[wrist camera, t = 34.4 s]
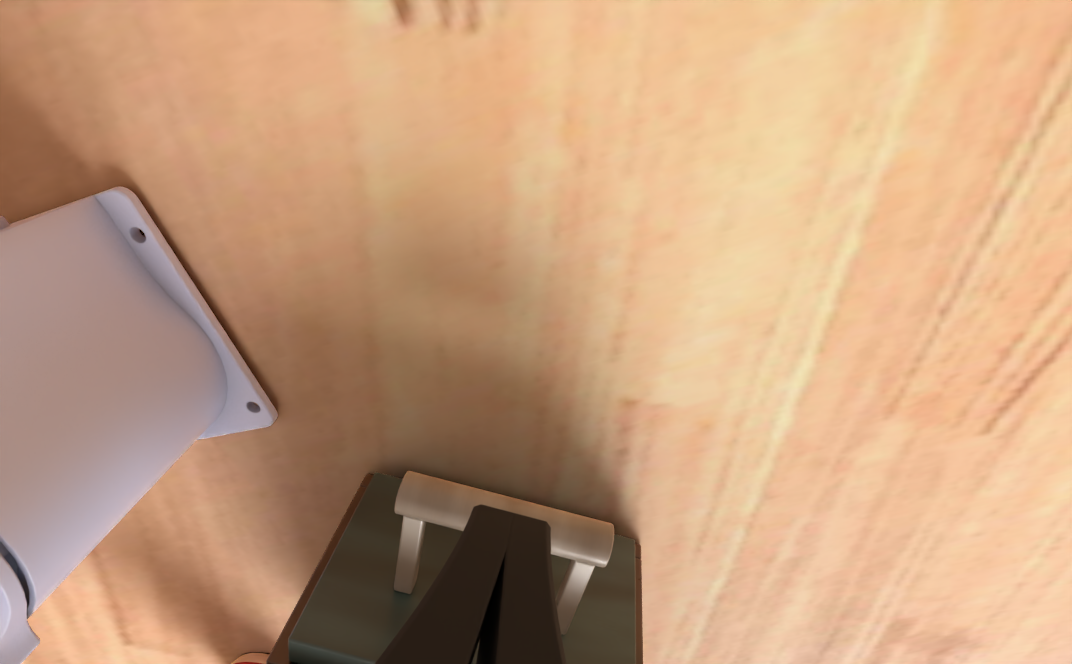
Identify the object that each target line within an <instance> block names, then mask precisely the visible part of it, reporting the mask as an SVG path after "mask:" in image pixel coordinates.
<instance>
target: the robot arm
mask: <svg viewBox="0 0 1072 664" xmlns="http://www.w3.org/2000/svg"><path fill="white" fill-rule="evenodd" d="M138 228H139V229H141V230H142V231H143V233H144V234H145V237H144V236H143V235H142V234H141V233H140V231H139V229H138ZM254 402H255V403H257V404H258V405H259V406H258V405H256V404H255V403H254ZM277 418H278V413H277V411H276V409H275V407H274V406H273V404H272V403H271V401H270V400H269V398H268V397H267V395H266V394H265V392H264V391H263V389H262V387H261V386H260V384H259V383H258V381H257V380H256V378H255V377H254V375H253V374H252V372H251V371H250V369H249V367H248V366H247V364H246V363H245V361H244V360H243V358H242V357H241V355H240V354H239V352H238V351H237V349H236V347H235V346H234V344H233V343H232V341H231V340H230V338H229V337H228V335H227V334H226V332H225V331H224V329H223V328H222V326H221V324H220V323H219V321H218V320H217V318H216V317H215V315H214V314H213V312H212V311H211V309H210V308H209V306H208V304H207V303H206V301H205V300H204V298H203V297H202V295H201V294H200V292H199V291H198V289H197V288H196V286H195V285H194V283H193V281H192V280H191V278H190V277H189V275H188V274H187V272H186V271H185V269H184V268H183V266H182V265H181V263H180V261H179V260H178V258H177V257H176V255H175V254H174V252H173V251H172V249H171V248H170V246H169V245H168V243H167V242H166V240H165V238H164V237H163V235H162V234H161V232H160V231H159V229H158V228H157V226H156V225H155V223H154V222H153V220H152V218H151V217H150V215H149V214H148V212H147V211H146V209H145V208H144V206H143V205H142V203H141V202H140V200H139V198H138V197H137V196H136V195H135V194H134V193H133V192H132V191H131V190H129V189H128V188H125V187H122V186H120V187H114V188H111V189H109V190H106V191H103V192H100V193H97V194H94V195H91V196H88V197H86V198H83V199H80V200H77V201H74V202H71V203H68V204H66V205H63V206H60V207H57V208H54V209H51V210H48V211H46V212H43V213H40V214H37V215H34V216H31V217H28V218H26V219H23V220H20V221H17V222H14V223H11V224H9V223H8V221H7V220H6V219H5V217H4V216H0V664H22V662H23V661H24V660H25V659H26V658H27V657H28V656H29V655H30V653H31V652H32V651H33V650H34V649H35V648H36V647H37V646H38V644H39V643H40V639H39V638H38V636H37V635H36V634H35V633H34V632H33V631H32V629H31V627H30V626H29V624H28V621H27V619H28V618H29V617H30V616H31V615H32V614H33V613H34V612H35V610H36V609H37V608H38V607H39V606H40V605H41V604H42V603H43V602H44V601H45V600H46V599H47V598H48V597H49V596H50V595H51V594H52V592H53V591H54V590H55V589H56V588H57V587H58V586H59V585H60V584H61V583H62V582H63V581H64V580H65V579H66V578H67V577H68V576H69V574H70V573H71V572H72V571H73V570H74V569H75V568H76V567H77V566H78V565H79V564H80V563H81V562H82V561H83V560H84V559H85V558H86V556H87V555H88V554H89V553H90V552H91V551H92V550H93V549H94V548H95V547H96V546H97V545H98V544H99V543H100V542H101V541H102V540H103V538H104V537H105V536H106V535H107V534H108V533H109V532H110V531H111V530H112V529H113V528H114V527H115V526H116V525H117V524H118V523H119V521H120V520H121V519H122V518H123V517H124V516H125V515H126V514H127V513H128V512H129V511H130V510H131V509H132V508H133V507H134V506H135V505H136V503H137V502H138V501H139V500H140V499H141V498H142V497H143V496H144V495H145V494H146V493H147V492H148V491H149V490H150V489H151V488H152V487H153V485H154V484H155V483H156V482H157V481H158V480H159V479H160V478H161V477H162V476H163V475H164V474H165V473H166V472H167V471H168V470H169V469H170V467H171V466H172V465H173V464H174V463H175V462H176V461H177V460H178V459H179V458H180V457H181V456H182V455H183V454H184V453H185V452H186V451H187V449H188V448H189V447H190V446H191V445H192V444H193V443H194V442H195V441H196V440H200V439H205V438H211V437H216V436H221V435H227V434H232V433H238V432H243V431H249V430H254V429H259V428H265V427H269V426H271V425H272V424H273V423H274V422H275V420H276V419H277ZM479 640H480V641H479ZM478 643H479V647H478V654H477V661H476V664H567V663H566V658H565V653H564V647H563V642H562V636H561V630H560V625H559V619H558V612H557V606H556V598H555V590H554V581H553V572H552V560H551V527H550V525H549V524H548V523H547V521H543V520H539V519H535V518H532V517H528V516H524V515H520V514H516V513H513V512H509V511H505V510H501V509H497V508H493V507H490V506H486V505H482V504H480V505H477V506H474V507H473V510H472V512H471V515H470V517H469V520H468V522H467V524H466V526H465V528H464V530H463V533H462V535H461V536H460V538H459V540H458V542H457V544H456V546H455V548H454V549H453V551H452V553H451V554H450V556H449V558H448V560H447V561H446V563H445V565H444V566H443V568H442V570H441V571H440V573H439V574H438V576H437V577H436V579H435V580H434V582H433V583H432V585H431V586H430V588H429V589H428V591H427V592H426V594H425V595H424V597H423V598H422V600H421V602H420V603H419V605H418V606H417V607H416V609H415V610H414V612H413V613H412V615H411V616H410V617H409V619H408V620H407V621H406V623H405V624H404V625H403V627H402V628H401V629H400V631H399V632H398V633H397V635H396V636H395V637H394V639H393V640H392V641H391V643H390V644H389V645H388V647H387V648H386V649H385V651H384V652H383V653H382V655H381V656H380V657H379V659H378V660H377V661H376V662H375V664H472V661H473V658H474V655H475V652H476V649H477V646H478Z"/></svg>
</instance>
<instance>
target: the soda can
mask: <svg viewBox="0 0 1072 664" xmlns="http://www.w3.org/2000/svg"><path fill="white" fill-rule="evenodd" d="M269 655H270V654H264V653H248V654H244V655H242V656H240V657H238V658H237V659H236V660H235V661H233V662H232V663H230V664H266V661H267V659H268V657H269Z"/></svg>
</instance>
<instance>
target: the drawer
mask: <svg viewBox="0 0 1072 664" xmlns="http://www.w3.org/2000/svg"><path fill="white" fill-rule="evenodd" d="M480 504H482V505H486V506H490V507H493V508H497V509H501V510H505V511H509V512H513V513H516V514H520V515H524V516H528V517H532V518H535V519H539V520H543V521H547V523H548V524H549V525H550V527H551V560H552V572H553V581H554V590H555V598H556V606H557V612H558V619H559V625H560V630H561V636H562V642H563V647H564V653H565V658H566V663H567V664H636V571H635V540H634V539H632V538H628V537H624V536H620V535H616V534H614V525H613V524H612V523H608V522H605V521H601V520H597V519H593V518H589V517H585V516H582V515H578V514H574V513H570V512H566V511H562V510H559V509H555V508H551V507H547V506H543V505H539V504H536V503H532V502H528V501H524V500H520V499H516V498H513V497H509V496H505V495H501V494H497V493H493V492H490V491H486V490H482V489H478V488H474V487H470V486H467V485H463V484H459V483H455V482H451V481H447V480H443V479H440V478H436V477H432V476H428V475H424V474H420V473H417V472H413V471H407V472H406V474H405V475H404V477H403V479H402V478H398V477H394V476H390V475H386V474H382V473H379V472H375V473H374V475H373V477H372V479H371V481H370V483H369V485H368V486H367V488H366V490H365V492H364V494H363V496H362V498H361V500H360V502H359V504H358V506H357V508H356V510H355V511H354V513H353V515H352V517H351V519H350V521H349V523H348V525H347V527H346V529H345V531H344V533H343V534H342V536H341V538H340V540H339V542H338V544H337V546H336V548H335V550H334V552H333V554H332V556H331V558H330V559H329V561H328V563H327V565H326V567H325V569H324V571H323V573H322V575H321V577H320V579H319V581H318V583H317V584H316V586H315V588H314V590H313V592H312V594H311V596H310V598H309V600H308V602H307V604H306V606H305V607H304V609H303V611H302V613H301V615H300V617H299V619H298V621H297V623H296V625H295V627H294V629H293V631H292V632H291V634H290V636H289V638H288V652H289V661H291V662H295V663H299V664H375V662H376V661H377V660H378V659H379V657H380V656H381V655H382V653H383V652H384V651H385V649H386V648H387V647H388V645H389V644H390V643H391V641H392V640H393V639H394V637H395V636H396V635H397V633H398V632H399V631H400V629H401V628H402V627H403V625H404V624H405V623H406V621H407V620H408V619H409V617H410V616H411V615H412V613H413V612H414V610H415V609H416V607H417V606H418V605H419V603H420V602H421V600H422V598H423V597H424V595H425V594H426V592H427V591H428V589H429V588H430V586H431V585H432V583H433V582H434V580H435V579H436V577H437V576H438V574H439V573H440V571H441V570H442V568H443V566H444V565H445V563H446V561H447V560H448V558H449V556H450V554H451V553H452V551H453V549H454V548H455V546H456V544H457V542H458V540H459V538H460V536H461V535H462V533H463V530H464V528H465V526H466V524H467V522H468V520H469V517H470V515H471V512H472V510H473V507H474V506H477V505H480ZM479 641H480V640H479ZM478 647H479V643H478V646H477V649H476V652H475V655H474V658H473V661H472V664H476V661H477V654H478Z"/></svg>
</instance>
